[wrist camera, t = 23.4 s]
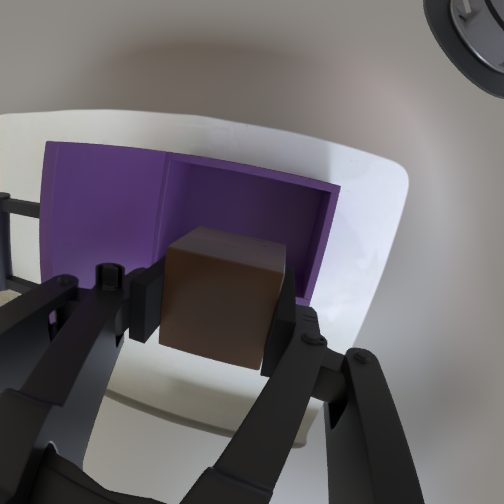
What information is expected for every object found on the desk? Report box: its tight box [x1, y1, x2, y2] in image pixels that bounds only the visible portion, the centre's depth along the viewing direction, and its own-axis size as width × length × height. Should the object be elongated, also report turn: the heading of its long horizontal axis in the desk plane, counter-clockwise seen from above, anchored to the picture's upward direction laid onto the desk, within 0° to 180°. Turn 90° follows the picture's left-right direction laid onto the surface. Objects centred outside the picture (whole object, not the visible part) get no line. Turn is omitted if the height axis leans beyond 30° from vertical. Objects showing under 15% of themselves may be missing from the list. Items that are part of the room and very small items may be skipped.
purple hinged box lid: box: [0, 141, 166, 323], centre depth 20 cm, size 19×13×8 cm
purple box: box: [151, 152, 341, 306], centre depth 33 cm, size 18×13×8 cm
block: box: [159, 226, 286, 370], centre depth 15 cm, size 5×5×5 cm
